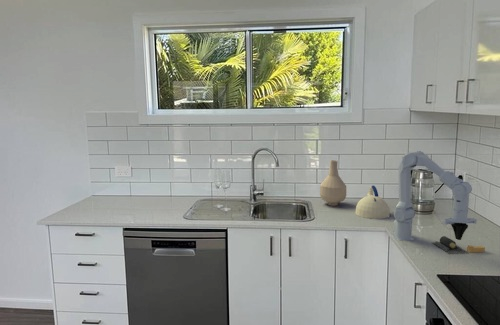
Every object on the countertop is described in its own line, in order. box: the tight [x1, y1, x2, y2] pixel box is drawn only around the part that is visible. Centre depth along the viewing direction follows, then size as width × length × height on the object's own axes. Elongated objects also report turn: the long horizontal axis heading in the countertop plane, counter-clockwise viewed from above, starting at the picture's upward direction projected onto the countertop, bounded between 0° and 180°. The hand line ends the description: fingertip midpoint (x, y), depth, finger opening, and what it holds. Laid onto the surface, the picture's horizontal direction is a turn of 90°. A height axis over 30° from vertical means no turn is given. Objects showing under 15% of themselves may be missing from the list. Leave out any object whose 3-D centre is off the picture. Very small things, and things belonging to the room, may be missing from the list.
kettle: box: [355, 185, 390, 220], centre depth 232 cm, size 20×21×18 cm
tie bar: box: [466, 244, 486, 253], centre depth 170 cm, size 2×7×3 cm, turn 95°
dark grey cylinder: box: [439, 235, 457, 250], centre depth 176 cm, size 7×4×4 cm, turn 5°
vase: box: [319, 160, 347, 207], centre depth 256 cm, size 18×18×30 cm
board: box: [431, 240, 470, 255], centre depth 171 cm, size 24×10×2 cm, turn 5°
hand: (458, 239), depth 169 cm, fingers closed
